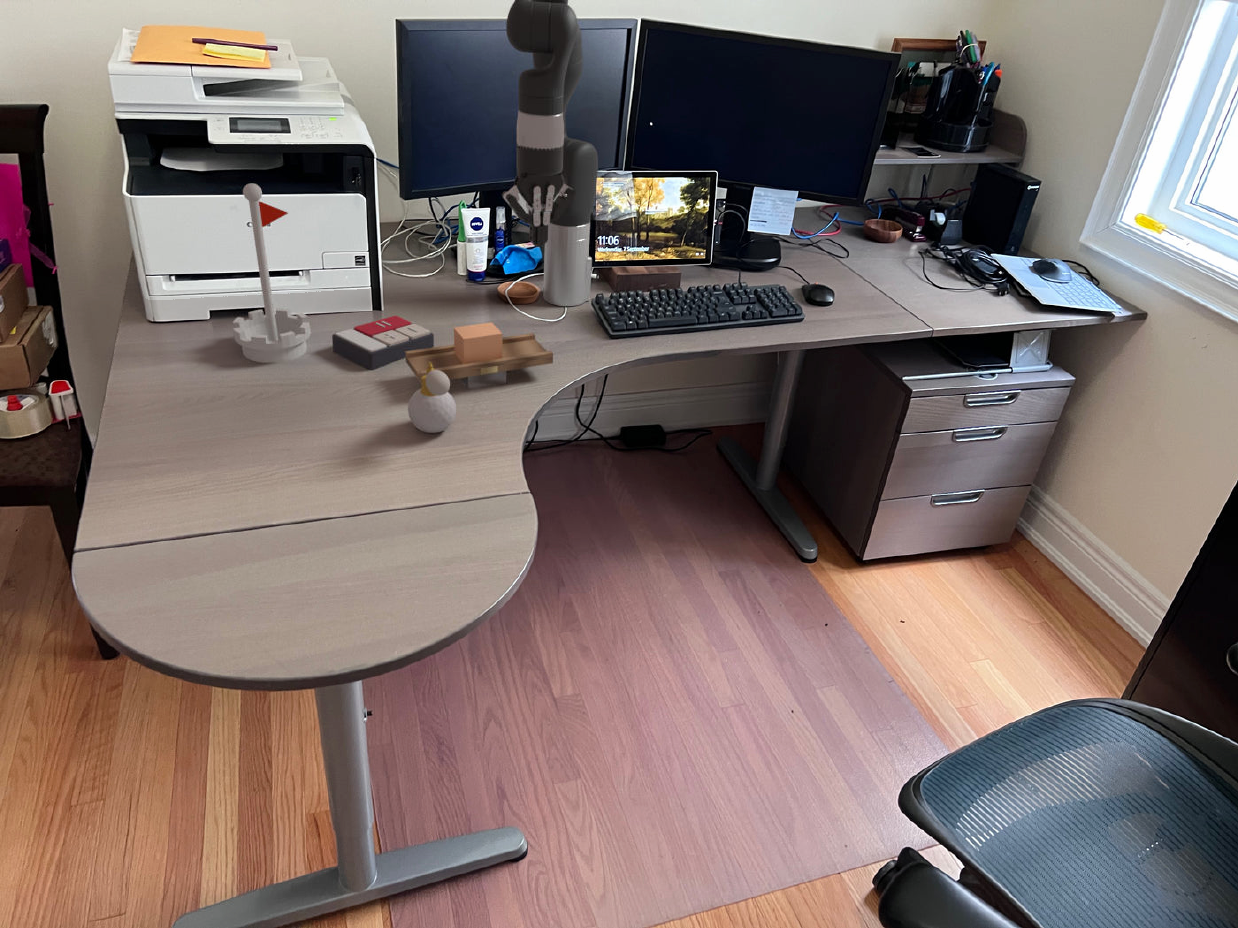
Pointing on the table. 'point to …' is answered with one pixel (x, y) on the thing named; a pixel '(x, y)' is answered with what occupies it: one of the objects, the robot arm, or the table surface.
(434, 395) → the perfume bottle
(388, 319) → the calculator
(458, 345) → the block
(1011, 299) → the table surface
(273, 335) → the flag stand
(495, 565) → the table surface
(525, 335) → the beam
